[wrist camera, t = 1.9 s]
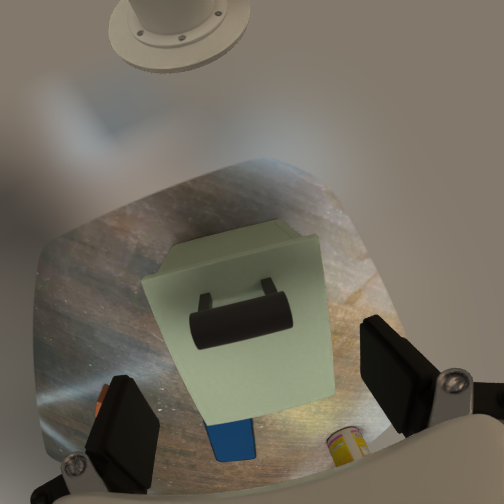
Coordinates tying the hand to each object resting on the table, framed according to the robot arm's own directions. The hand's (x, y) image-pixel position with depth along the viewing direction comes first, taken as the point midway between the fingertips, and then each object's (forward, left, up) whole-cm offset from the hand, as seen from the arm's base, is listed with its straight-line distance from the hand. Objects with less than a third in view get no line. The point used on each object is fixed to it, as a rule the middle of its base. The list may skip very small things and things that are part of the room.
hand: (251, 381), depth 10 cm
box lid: (+5, 0, -9) cm, 10 cm away
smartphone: (+31, -8, -21) cm, 39 cm away
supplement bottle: (+41, +11, -21) cm, 48 cm away
